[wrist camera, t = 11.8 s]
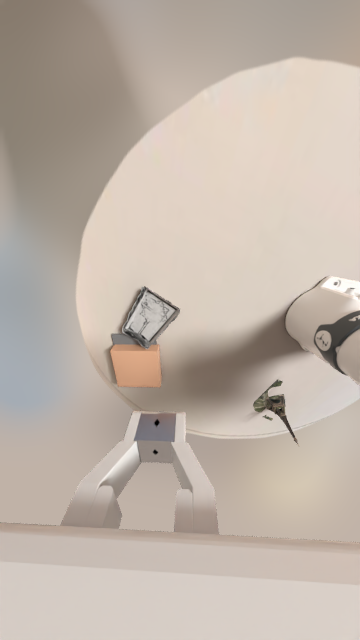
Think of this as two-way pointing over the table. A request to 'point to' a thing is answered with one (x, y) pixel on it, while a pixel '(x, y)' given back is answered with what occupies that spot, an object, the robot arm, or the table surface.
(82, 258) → the table surface
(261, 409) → the eiffel tower figurine
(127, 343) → the mat
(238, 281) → the table surface
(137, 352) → the orange block
